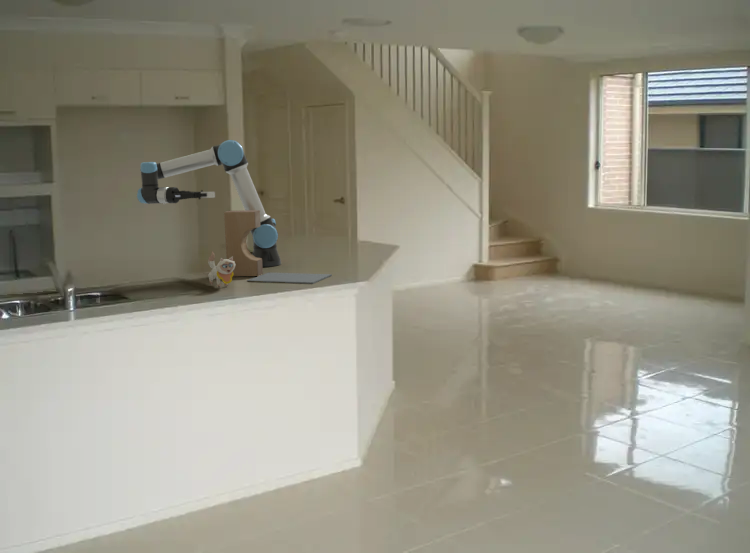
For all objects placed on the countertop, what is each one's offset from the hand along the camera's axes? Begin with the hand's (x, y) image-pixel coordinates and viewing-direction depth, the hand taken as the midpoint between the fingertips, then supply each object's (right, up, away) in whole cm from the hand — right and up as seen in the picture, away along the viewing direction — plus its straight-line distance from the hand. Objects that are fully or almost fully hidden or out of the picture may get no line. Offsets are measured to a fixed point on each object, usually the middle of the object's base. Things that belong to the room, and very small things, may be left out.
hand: (214, 194), depth 410 cm
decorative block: (+13, -37, +6) cm, 40 cm away
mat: (+35, -39, -7) cm, 53 cm away
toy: (+6, -42, -23) cm, 49 cm away
